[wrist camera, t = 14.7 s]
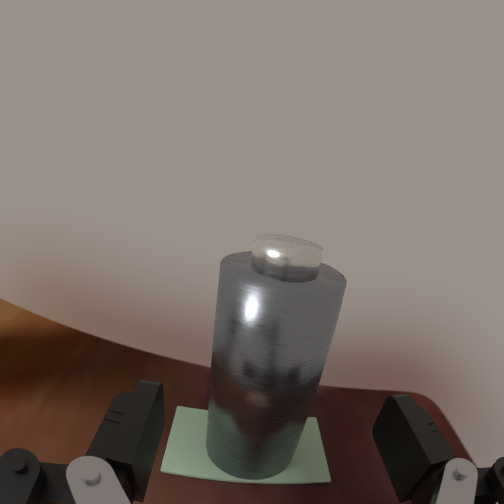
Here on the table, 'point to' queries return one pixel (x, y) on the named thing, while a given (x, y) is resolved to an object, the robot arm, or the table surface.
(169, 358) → the table surface
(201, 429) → the mat
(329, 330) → the bottle
